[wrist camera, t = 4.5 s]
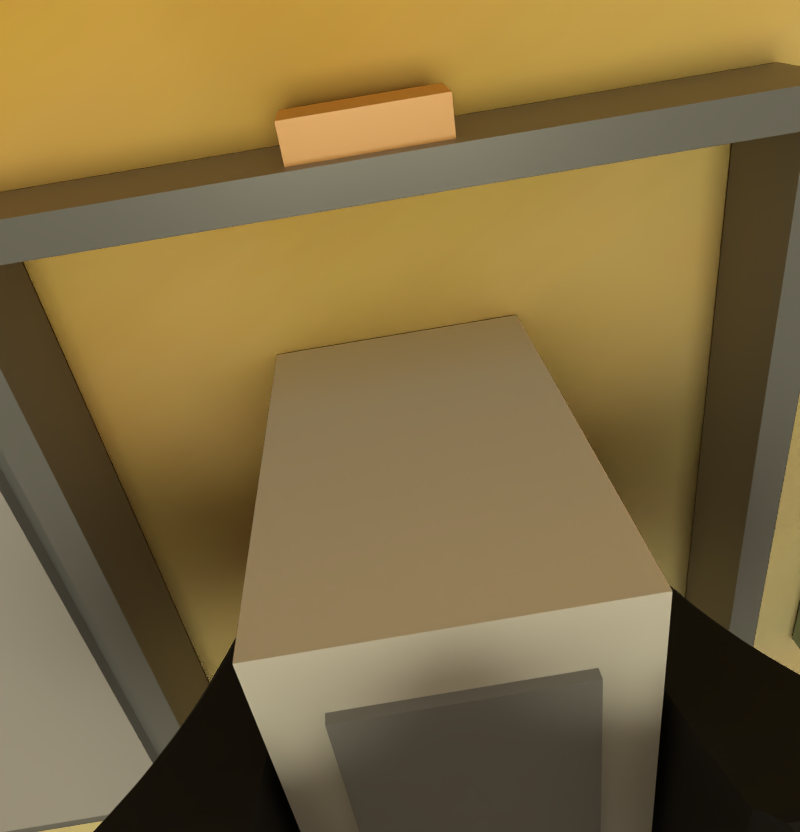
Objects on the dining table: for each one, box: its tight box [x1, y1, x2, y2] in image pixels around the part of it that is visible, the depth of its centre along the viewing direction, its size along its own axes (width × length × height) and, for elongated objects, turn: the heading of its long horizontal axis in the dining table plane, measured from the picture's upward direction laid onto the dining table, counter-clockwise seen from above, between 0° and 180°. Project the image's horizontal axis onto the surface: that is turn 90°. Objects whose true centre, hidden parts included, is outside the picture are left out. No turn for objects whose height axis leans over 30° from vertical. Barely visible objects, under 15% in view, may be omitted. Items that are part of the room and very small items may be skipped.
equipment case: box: [0, 62, 800, 832], centre depth 14 cm, size 23×16×2 cm
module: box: [232, 315, 673, 832], centre depth 12 cm, size 4×8×7 cm, turn 8°
